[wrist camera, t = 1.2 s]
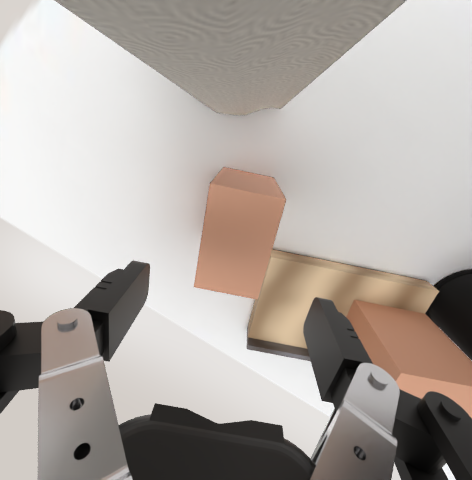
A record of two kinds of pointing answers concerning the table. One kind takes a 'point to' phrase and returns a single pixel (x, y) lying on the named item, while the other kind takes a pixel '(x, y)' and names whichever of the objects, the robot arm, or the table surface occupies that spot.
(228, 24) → the paper towel roll
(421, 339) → the carton faced
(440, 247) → the table surface
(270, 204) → the carton
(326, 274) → the tan flat block
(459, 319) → the aerosol can
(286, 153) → the table surface
